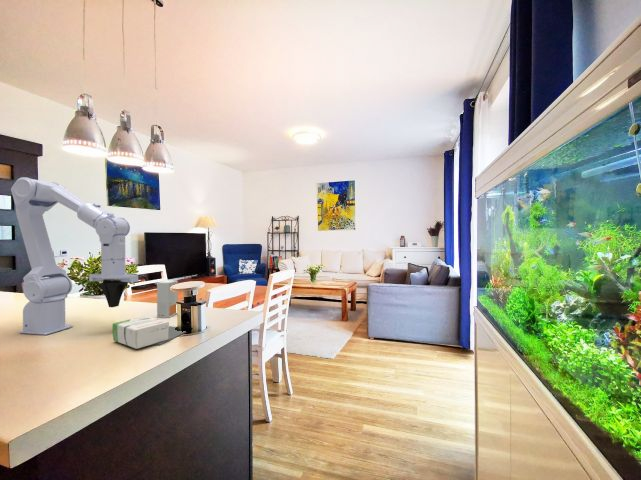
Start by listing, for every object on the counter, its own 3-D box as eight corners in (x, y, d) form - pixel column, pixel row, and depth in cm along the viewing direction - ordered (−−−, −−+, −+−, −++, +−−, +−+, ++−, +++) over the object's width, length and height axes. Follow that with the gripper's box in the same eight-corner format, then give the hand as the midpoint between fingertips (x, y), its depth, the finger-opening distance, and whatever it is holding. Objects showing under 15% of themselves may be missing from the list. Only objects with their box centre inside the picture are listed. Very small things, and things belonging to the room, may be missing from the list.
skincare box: (168, 318, 102) (168, 282, 102) (156, 317, 102) (156, 282, 102) (178, 313, 108) (178, 280, 108) (166, 313, 108) (166, 279, 108)
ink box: (112, 341, 79) (135, 350, 72) (112, 322, 79) (135, 329, 72) (146, 332, 86) (170, 340, 80) (146, 314, 86) (169, 321, 80)
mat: (119, 342, 79) (119, 341, 79) (157, 326, 93) (157, 325, 93) (160, 345, 77) (160, 344, 77) (193, 328, 90) (193, 327, 90)
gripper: (146, 258, 90) (146, 304, 90) (104, 258, 92) (104, 302, 92) (126, 260, 83) (127, 310, 83) (82, 259, 85) (82, 307, 85)
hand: (113, 306), depth 87 cm, fingers closed
